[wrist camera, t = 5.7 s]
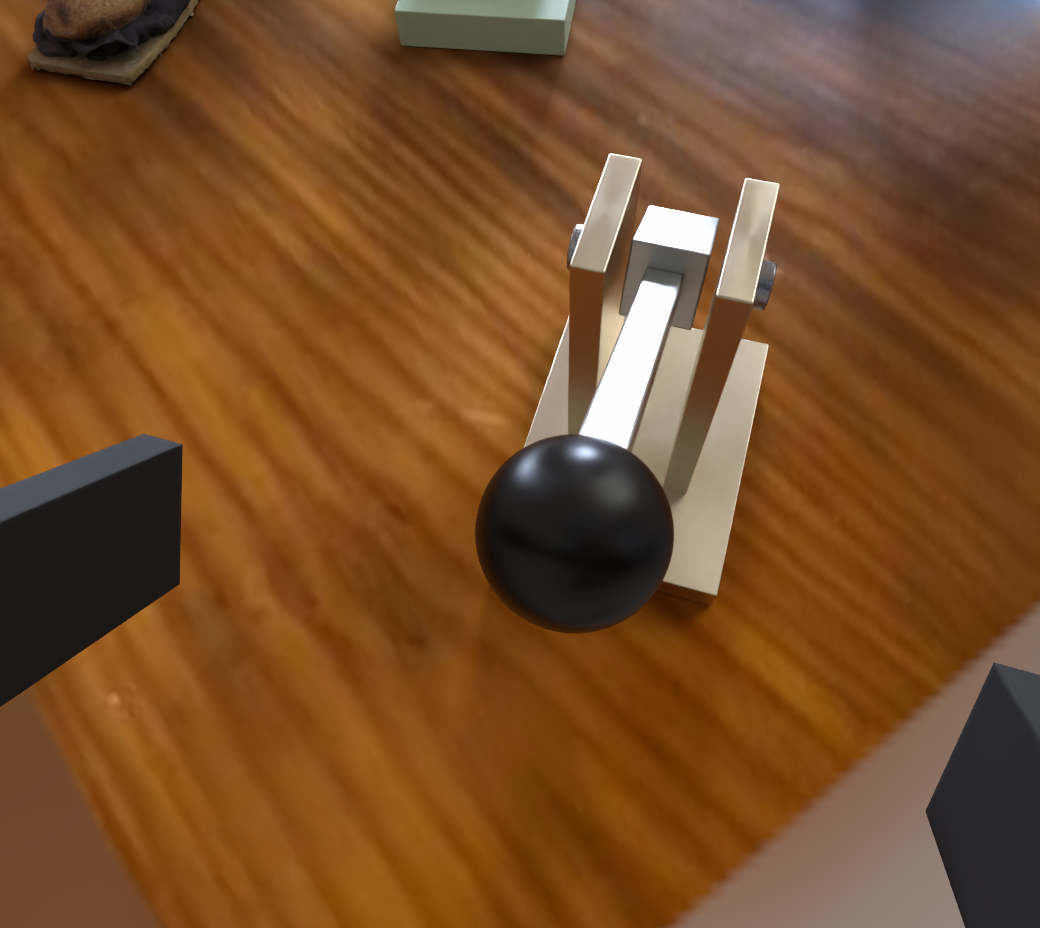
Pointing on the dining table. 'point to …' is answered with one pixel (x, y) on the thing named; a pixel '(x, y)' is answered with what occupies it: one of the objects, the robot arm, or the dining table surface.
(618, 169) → the lever bracket
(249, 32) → the dining table surface
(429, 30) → the button box
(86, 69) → the bread roll
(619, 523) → the lever
